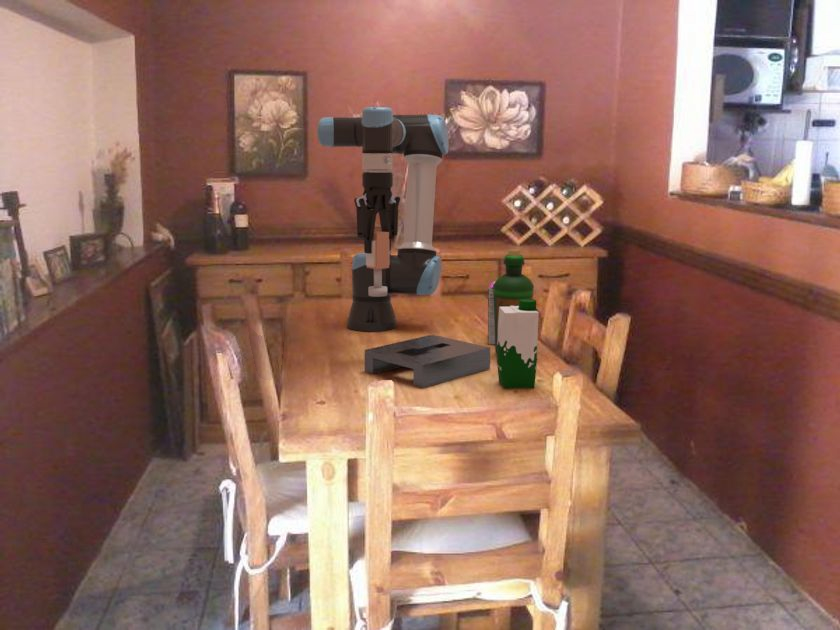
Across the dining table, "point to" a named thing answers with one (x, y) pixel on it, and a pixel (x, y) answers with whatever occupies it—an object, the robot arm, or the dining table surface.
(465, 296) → the dining table surface
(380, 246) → the keyhole peg
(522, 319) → the milk carton
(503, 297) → the bottle
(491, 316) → the candy bar box
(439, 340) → the keyhole bracket
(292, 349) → the dining table surface
